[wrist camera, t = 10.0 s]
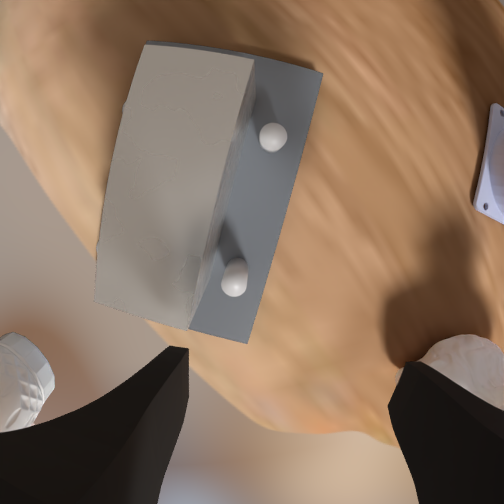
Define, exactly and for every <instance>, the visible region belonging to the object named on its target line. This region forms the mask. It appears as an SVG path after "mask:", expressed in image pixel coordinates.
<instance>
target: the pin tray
mask: <svg viewBox="0 0 504 504" xmlns="http://www.w3.org/2000/svg"><path fill="white" fill-rule="evenodd" d="M146 45H158V46H170V47H179V48H188V49H196V50H203V51H210V52H216V53H222V54H228V55H233V56H239V57H244V58H249V59H253V60H254V64H255V84H256V101H255V104H254V108H253V111H252V115H251V118H250V122H249V126H248V129H247V133H246V137H245V140H244V144H243V148H242V152H241V155H240V159H239V163H238V167H237V171H236V174H235V178H234V182H233V186H232V190H231V194H230V198H229V202H228V206H227V210H226V214H225V218H224V222H223V226H222V230H221V234H220V238H219V243H218V247H217V251H216V255H215V259H214V264H213V268H212V272H211V277H210V280H209V282H208V284H207V286H206V289H205V291H204V293H203V296H202V298H201V300H200V302H199V305H198V307H197V309H196V312H195V314H194V316H193V319H192V321H191V323H190V326H189V328H188V329H190V330H194V331H198V332H201V333H205V334H209V335H213V336H217V337H221V338H225V339H229V340H233V341H237V342H241V343H245V344H247V343H248V340H249V337H250V334H251V330H252V327H253V324H254V320H255V317H256V314H257V310H258V307H259V304H260V300H261V297H262V294H263V290H264V287H265V284H266V280H267V277H268V273H269V270H270V267H271V263H272V260H273V256H274V253H275V249H276V246H277V242H278V239H279V235H280V232H281V228H282V225H283V221H284V218H285V214H286V211H287V207H288V204H289V200H290V196H291V193H292V189H293V186H294V182H295V178H296V175H297V171H298V167H299V164H300V160H301V156H302V153H303V149H304V145H305V142H306V138H307V134H308V130H309V127H310V123H311V119H312V115H313V111H314V108H315V104H316V100H317V96H318V92H319V88H320V84H321V80H322V77H323V73H320V72H317V71H314V70H311V69H307V68H304V67H300V66H297V65H293V64H289V63H286V62H282V61H278V60H274V59H270V58H265V57H261V56H256V55H252V54H247V53H242V52H237V51H231V50H226V49H220V48H213V47H207V46H199V45H192V44H183V43H173V42H162V41H147V42H146ZM126 101H127V100H126ZM126 101H125V103H124V105H123V108H122V113H123V112H124V108H125V104H126ZM98 245H99V241H98V243H97V246H96V250H97V254H98Z"/></svg>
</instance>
